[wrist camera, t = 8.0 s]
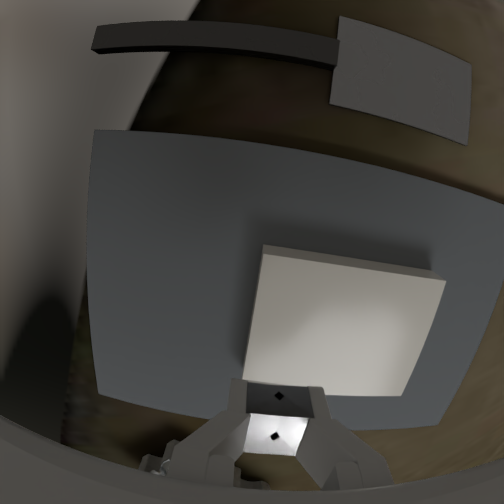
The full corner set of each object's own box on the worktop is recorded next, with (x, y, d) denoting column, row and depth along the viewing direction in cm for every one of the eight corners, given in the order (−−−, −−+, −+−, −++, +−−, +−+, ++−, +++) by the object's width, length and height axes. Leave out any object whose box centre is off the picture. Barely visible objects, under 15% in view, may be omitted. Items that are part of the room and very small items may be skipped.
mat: (514, 209, 15) (520, 211, 14) (434, 419, 19) (437, 424, 18) (100, 130, 14) (94, 129, 14) (102, 388, 18) (98, 393, 18)
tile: (263, 243, 15) (431, 270, 15) (242, 368, 17) (392, 379, 17) (263, 253, 13) (446, 281, 13) (241, 386, 15) (400, 395, 15)
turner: (468, 65, 13) (478, 62, 12) (464, 145, 14) (474, 145, 13) (113, 5, 12) (105, -2, 11) (92, 85, 14) (83, 81, 13)
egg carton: (284, 487, 21) (286, 526, 18) (219, 510, 23) (216, 543, 19) (190, 427, 19) (179, 472, 15) (129, 456, 21) (115, 493, 17)
